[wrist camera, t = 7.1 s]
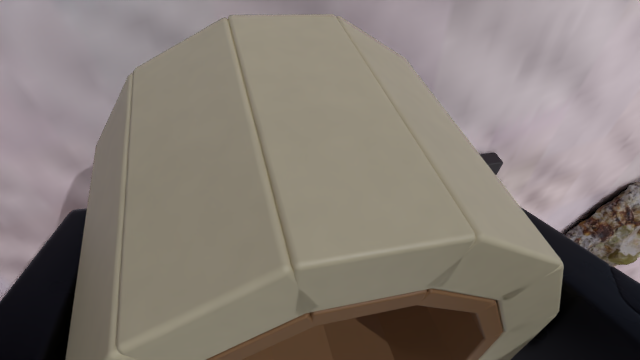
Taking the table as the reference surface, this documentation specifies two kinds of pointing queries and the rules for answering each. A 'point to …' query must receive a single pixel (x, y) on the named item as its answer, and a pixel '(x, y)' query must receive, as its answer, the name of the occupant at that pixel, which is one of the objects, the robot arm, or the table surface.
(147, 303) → the tape roll
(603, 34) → the table surface
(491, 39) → the table surface
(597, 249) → the mineral rock
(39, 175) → the table surface
